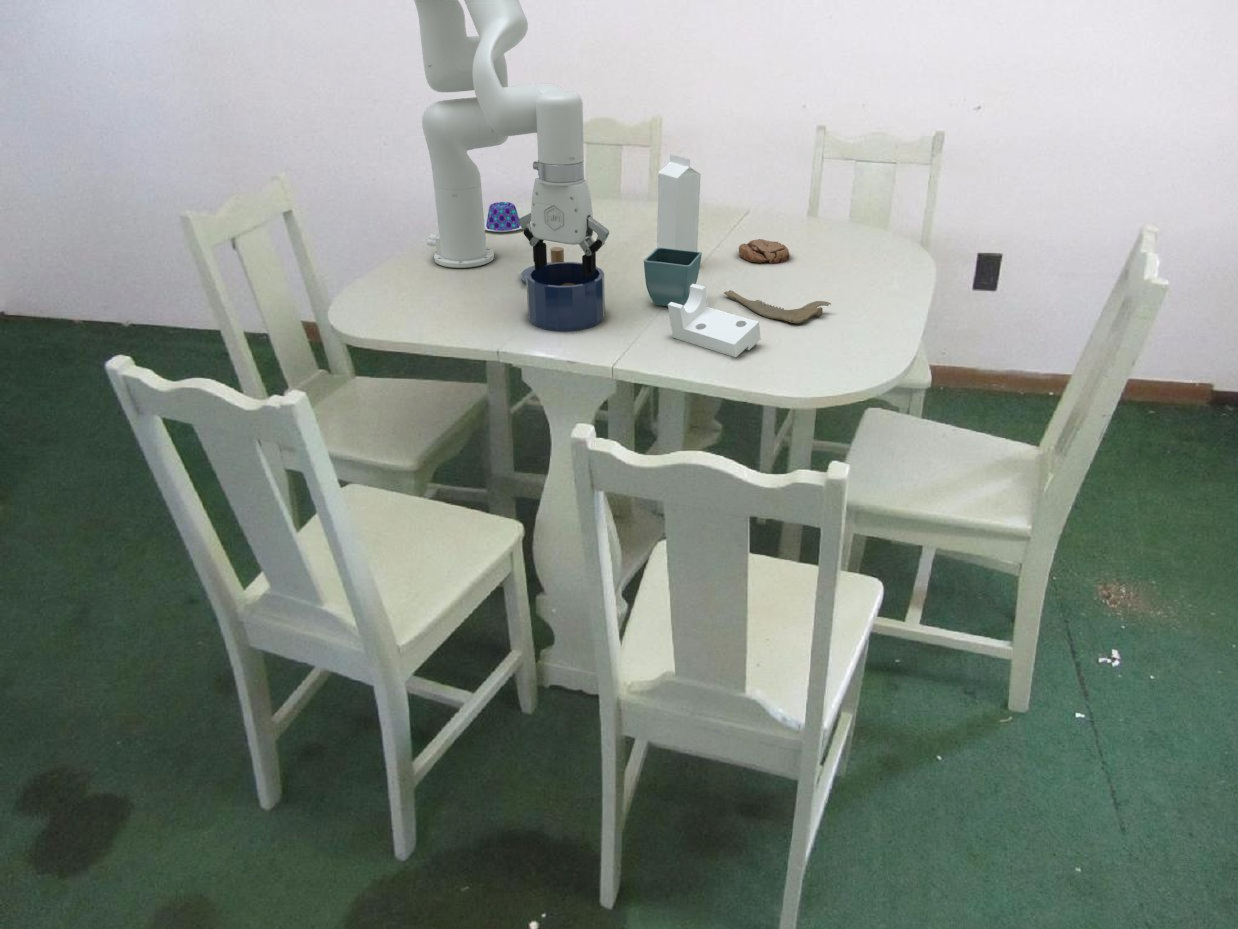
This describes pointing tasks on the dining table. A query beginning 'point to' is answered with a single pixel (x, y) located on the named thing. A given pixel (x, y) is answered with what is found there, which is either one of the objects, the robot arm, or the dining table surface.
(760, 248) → the cookie
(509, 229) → the pudding
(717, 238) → the dining table surface
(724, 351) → the bracket
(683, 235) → the milk
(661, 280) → the flower pot
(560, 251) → the lid
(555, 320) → the crock
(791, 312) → the jawbone
